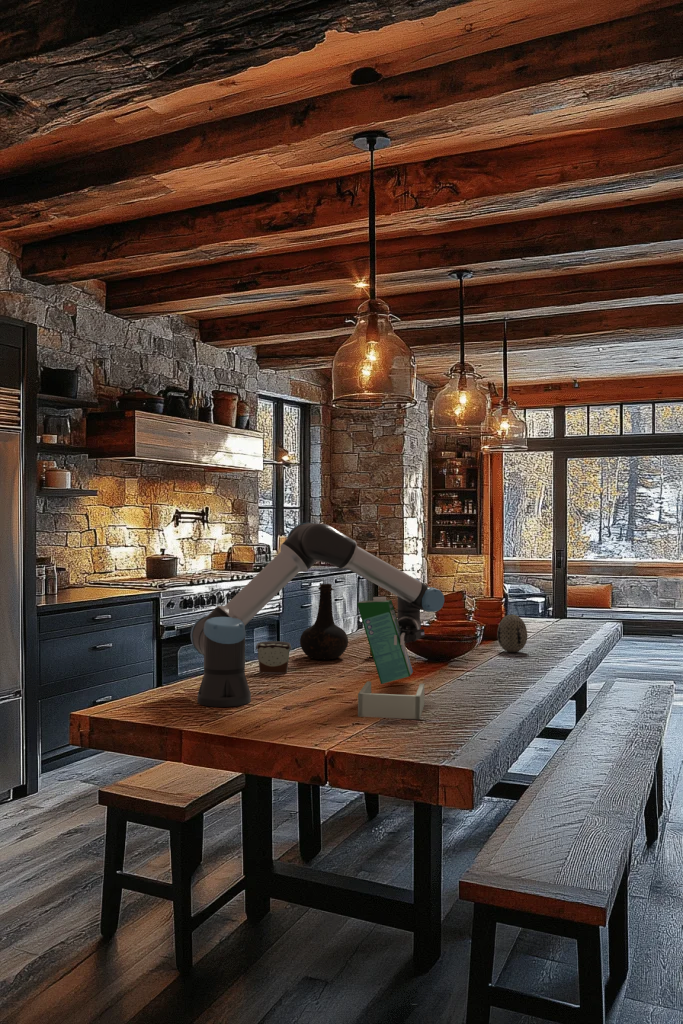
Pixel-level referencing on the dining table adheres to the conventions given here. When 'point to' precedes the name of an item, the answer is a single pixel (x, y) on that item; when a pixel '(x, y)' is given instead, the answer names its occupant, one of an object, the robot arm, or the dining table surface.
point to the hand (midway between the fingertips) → (398, 640)
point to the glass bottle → (324, 631)
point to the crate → (390, 704)
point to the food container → (273, 656)
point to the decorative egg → (512, 633)
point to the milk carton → (385, 639)
